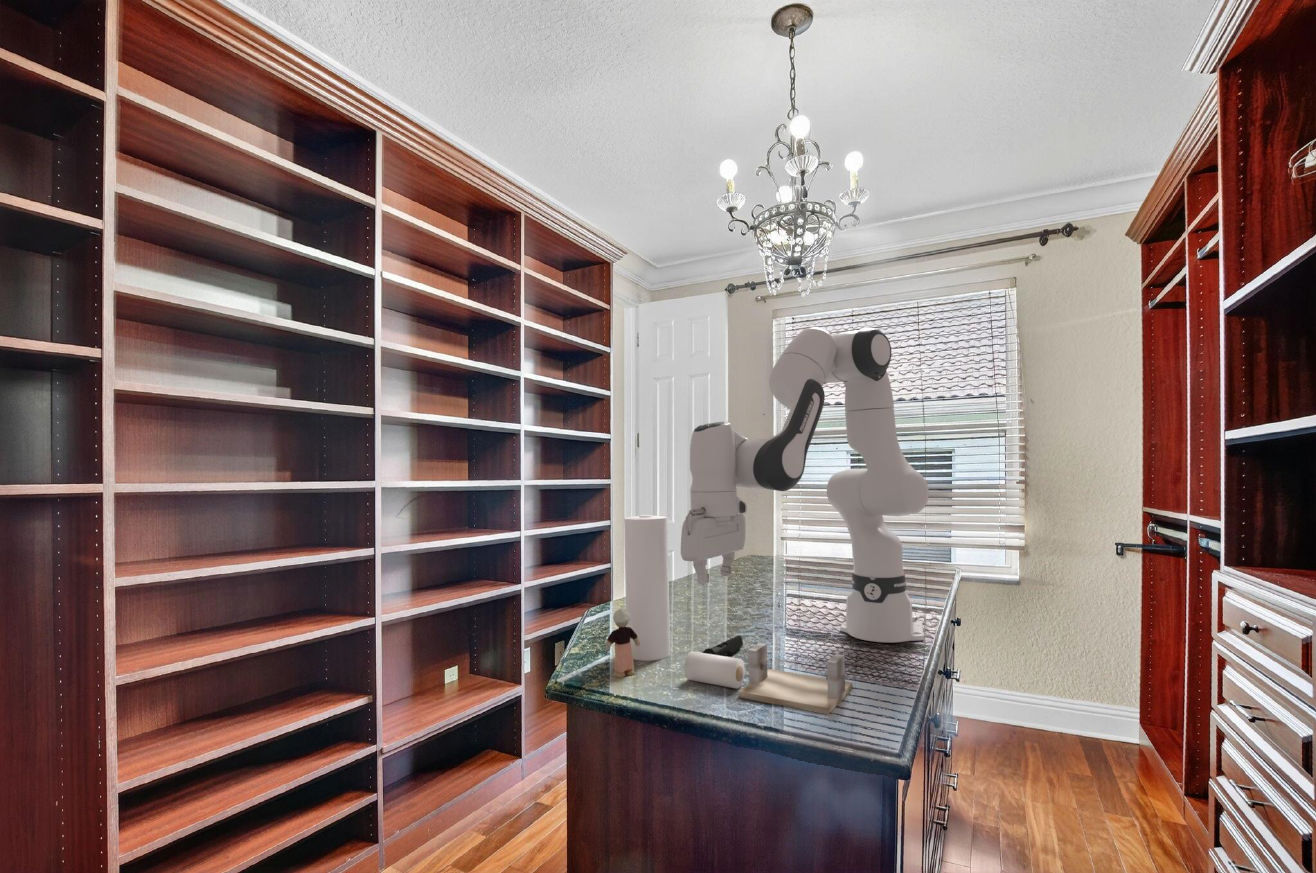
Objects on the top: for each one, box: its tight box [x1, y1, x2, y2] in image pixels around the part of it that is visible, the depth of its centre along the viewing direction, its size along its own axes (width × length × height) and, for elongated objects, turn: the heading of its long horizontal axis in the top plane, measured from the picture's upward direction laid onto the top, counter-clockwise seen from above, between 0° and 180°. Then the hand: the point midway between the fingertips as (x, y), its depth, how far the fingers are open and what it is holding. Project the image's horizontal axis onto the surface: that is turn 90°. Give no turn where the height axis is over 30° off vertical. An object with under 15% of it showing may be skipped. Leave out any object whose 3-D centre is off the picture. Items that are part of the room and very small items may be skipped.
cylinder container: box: [623, 514, 671, 662], centre depth 138 cm, size 9×9×30 cm
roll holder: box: [737, 642, 854, 715], centre depth 113 cm, size 14×16×7 cm
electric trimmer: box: [701, 635, 744, 657], centre depth 135 cm, size 4×16×3 cm, turn 145°
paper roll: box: [683, 650, 746, 690], centre depth 119 cm, size 11×5×5 cm
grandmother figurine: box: [604, 608, 640, 678], centre depth 125 cm, size 8×4×13 cm, turn 135°
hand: (715, 579), depth 121 cm, fingers open, 8 cm apart
